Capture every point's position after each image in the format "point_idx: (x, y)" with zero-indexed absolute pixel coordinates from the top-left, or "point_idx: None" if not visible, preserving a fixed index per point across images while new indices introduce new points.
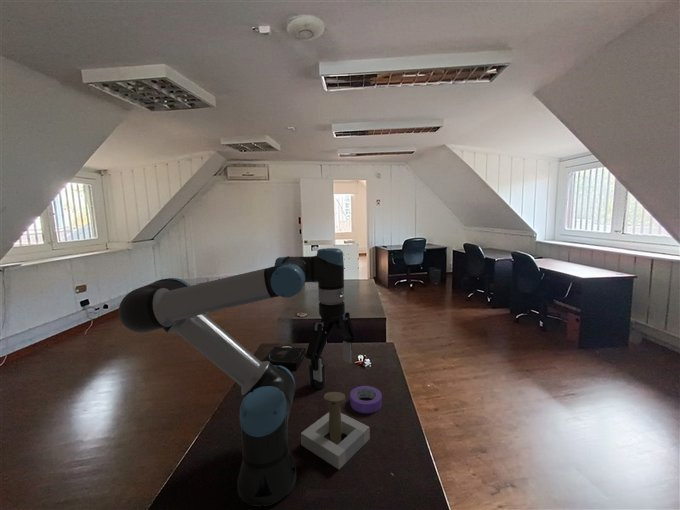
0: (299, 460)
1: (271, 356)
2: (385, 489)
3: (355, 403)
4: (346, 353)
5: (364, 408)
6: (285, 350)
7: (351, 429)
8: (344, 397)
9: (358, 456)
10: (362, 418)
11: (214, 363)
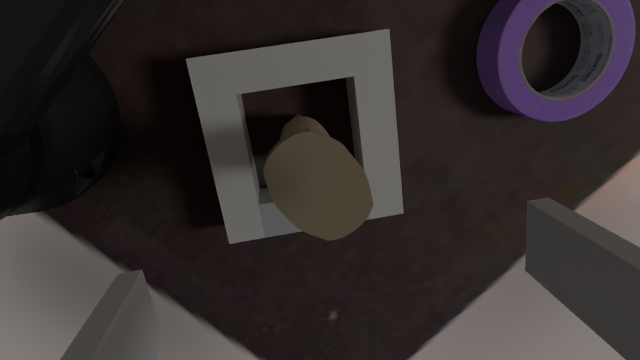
0: (153, 113)
1: None
2: (284, 333)
3: (492, 53)
4: (587, 282)
5: (495, 93)
6: None
7: (360, 161)
8: (351, 230)
9: None
10: (455, 107)
11: None
